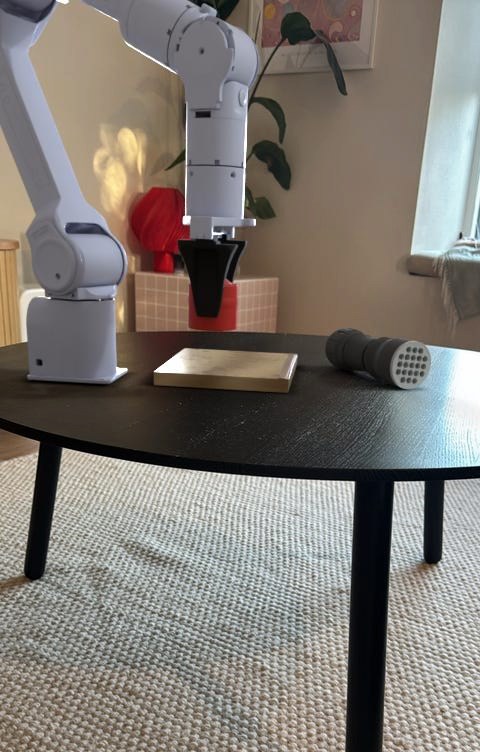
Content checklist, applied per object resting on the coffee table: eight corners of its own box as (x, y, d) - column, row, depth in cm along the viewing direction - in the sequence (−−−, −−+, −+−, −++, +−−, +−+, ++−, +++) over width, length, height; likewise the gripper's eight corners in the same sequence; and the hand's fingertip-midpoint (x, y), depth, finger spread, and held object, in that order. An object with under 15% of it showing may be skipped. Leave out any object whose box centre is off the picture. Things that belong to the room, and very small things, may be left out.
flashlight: (319, 367, 98) (322, 325, 96) (354, 366, 100) (357, 324, 98) (390, 390, 85) (395, 342, 83) (428, 387, 87) (433, 340, 86)
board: (153, 385, 84) (153, 371, 83) (184, 359, 101) (184, 347, 100) (287, 393, 82) (288, 378, 82) (296, 365, 99) (297, 353, 98)
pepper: (183, 329, 76) (183, 265, 73) (192, 323, 80) (193, 263, 78) (233, 332, 75) (235, 268, 73) (240, 326, 80) (242, 265, 77)
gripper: (247, 163, 65) (241, 324, 70) (264, 174, 78) (258, 309, 83) (167, 160, 66) (167, 320, 71) (198, 172, 79) (196, 305, 84)
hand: (212, 314), depth 77 cm, fingers closed on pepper, 5 cm apart
